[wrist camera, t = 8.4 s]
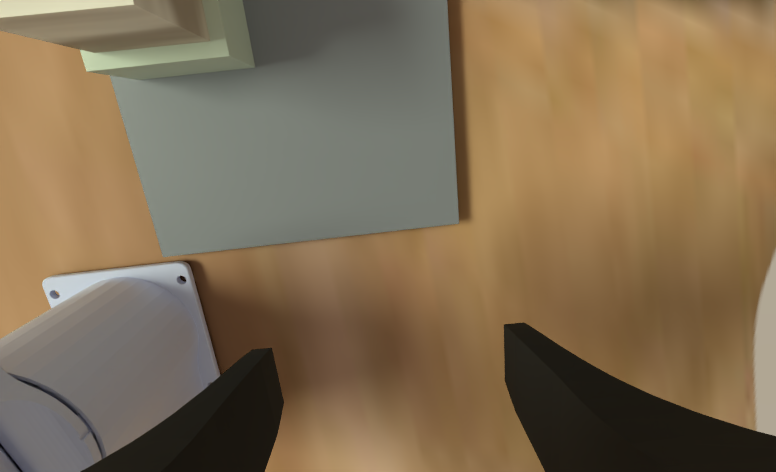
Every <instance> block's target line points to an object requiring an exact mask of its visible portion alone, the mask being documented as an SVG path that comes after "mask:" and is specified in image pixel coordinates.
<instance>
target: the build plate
mask: <svg viewBox="0 0 776 472" xmlns="http://www.w3.org/2000/svg"><path fill="white" fill-rule="evenodd" d="M243 5H244V11H245V16H246V21H247V26H248V32H249V37H250V42H251V48H252V53H253V58H254V63H255V68H245V69H236V70H227V71H218V72H209V73H199V74H190V75H181V76H172V77H162V78H153V79H144V80H135V79H129V78H123V77H117V76H111V75H110V78H111V81H112V85H113V88H114V91H115V95H116V98H117V102H118V105H119V108H120V112H121V115H122V119H123V122H124V126H125V129H126V132H127V136H128V139H129V143H130V146H131V149H132V153H133V156H134V160H135V163H136V166H137V170H138V173H139V177H140V180H141V183H142V187H143V190H144V194H145V197H146V200H147V204H148V207H149V211H150V214H151V217H152V221H153V224H154V228H155V231H156V234H157V238H158V241H159V245H160V248H161V251H162V255H163V257H168V256H177V255H186V254H194V253H203V252H212V251H221V250H230V249H239V248H247V247H256V246H265V245H274V244H283V243H292V242H300V241H309V240H318V239H327V238H336V237H345V236H353V235H362V234H371V233H380V232H389V231H398V230H406V229H415V228H424V227H433V226H442V225H451V224H459V213H458V195H457V176H456V157H455V138H454V120H453V101H452V82H451V63H450V44H449V26H448V7H447V0H243Z"/></svg>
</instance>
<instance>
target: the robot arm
mask: <svg viewBox="0 0 776 472" xmlns="http://www.w3.org/2000/svg"><path fill="white" fill-rule="evenodd" d="M180 276H184V277H185V278H186V282H184V281H182V280H181V279H180ZM42 285H43V289H44V291H45V294H46V296H47V299H48V301H49V304H50V306H51V309H50V310H48V311H46V312H45V313H43V314H41V315H40V316H38V317H36V318H35V319H33V320H31V321H30V322H28V323H26V324H25V325H23V326H21V327H20V328H18V329H16V330H14V331H13V332H11V333H9V334H8V335H6V336H4V337H3V338H1V339H0V472H265V469H266V466H267V463H268V460H269V458H270V455H271V452H272V449H273V446H274V443H275V440H276V437H277V434H278V429H279V425H280V420H281V415H282V410H283V404H284V400H283V396H282V392H281V387H280V383H279V378H278V374H277V369H276V365H275V361H274V356H273V352H272V348H265V349H255V350H251V351H250V352H249V353H247V354H246V355H245V356H243V357H242V358H241V359H240V360H239V361H237V362H236V363H235V364H234V365H233V366H231V367H230V368H229V369H228V370H227V371H226V372H224V373H223V374H222V375H221V376H220V372H219V369H218V365H217V361H216V358H215V354H214V350H213V347H212V343H211V339H210V336H209V332H208V329H207V325H206V321H205V318H204V314H203V310H202V307H201V303H200V299H199V296H198V292H197V288H196V285H195V281H194V277H193V274H192V270H191V267H190V265H189V264H188V263H186V262H184V261H176V262H167V263H158V264H149V265H141V266H132V267H123V268H114V269H105V270H97V271H88V272H79V273H70V274H61V275H53V276H50V277H48V278H46V279H45V280H43V283H42ZM55 290H56V291H57V292H58V293H59V295H60V296H59V295H57V294H56V292H55ZM504 353H505V382H506V385H507V388H508V391H509V394H510V397H511V400H512V403H513V406H514V408H515V411H516V413H517V415H518V417H519V419H520V421H521V424H522V426H523V428H524V430H525V432H526V434H527V436H528V438H529V440H530V442H531V444H532V446H533V448H534V450H535V452H536V454H537V456H538V458H539V460H540V462H541V464H542V466H543V468H544V470H545V472H776V436H772V435H769V434H765V433H761V432H757V431H754V430H750V429H747V428H743V427H740V426H737V425H734V424H731V423H727V422H724V421H721V420H718V419H715V418H712V417H709V416H706V415H703V414H700V413H697V412H694V411H692V410H689V409H686V408H684V407H681V406H679V405H676V404H673V403H671V402H668V401H666V400H663V399H661V398H658V397H656V396H653V395H651V394H649V393H646V392H644V391H642V390H640V389H638V388H636V387H633V386H631V385H629V384H627V383H625V382H623V381H621V380H619V379H617V378H615V377H613V376H611V375H609V374H607V373H605V372H603V371H602V370H600V369H598V368H596V367H594V366H593V365H591V364H589V363H587V362H586V361H584V360H582V359H581V358H579V357H577V356H576V355H574V354H572V353H571V352H569V351H567V350H566V349H564V348H563V347H561V346H560V345H558V344H557V343H555V342H553V341H552V340H550V339H549V338H547V337H546V336H544V335H543V334H541V333H540V332H538V331H537V330H535V329H534V328H532V327H531V326H529V325H527V324H526V323H515V324H505V325H504ZM210 382H211V384H210Z"/></svg>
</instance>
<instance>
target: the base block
mask: <svg viewBox="0 0 776 472" xmlns="http://www.w3.org/2000/svg"><path fill="white" fill-rule="evenodd" d="M202 3H203V8H204V13H205V17H206V22H207V27H208V32H209V36H210V41H209V42H199V43H189V44H179V45H169V46H159V47H149V48H139V49H129V50H119V51H109V52H99V53H93V52H89V51H84V50H80V52H81V55H82V58H83V61H84V65H85V68H86V71H87V72H93V73H99V74H105V75H111V76H117V77H123V78H129V79H135V80H144V79H153V78H162V77H172V76H181V75H190V74H199V73H209V72H218V71H227V70H236V69H245V68H255V63H254V58H253V53H252V48H251V42H250V37H249V32H248V26H247V21H246V16H245V11H244V5H243V0H202Z"/></svg>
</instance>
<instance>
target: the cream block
mask: <svg viewBox="0 0 776 472" xmlns="http://www.w3.org/2000/svg"><path fill="white" fill-rule="evenodd" d="M0 31H4V32H8V33H13V34H17V35H21V36H25V37H29V38H34V39H38V40H42V41H46V42H51V43H55V44H59V45H63V46H67V47H72V48H76V49H80V50H84V51H89V52H93V53H99V52H109V51H119V50H129V49H139V48H149V47H159V46H169V45H179V44H189V43H199V42H209V41H210V36H209V32H208V27H207V22H206V17H205V13H204V8H203V3H202V0H0Z"/></svg>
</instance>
